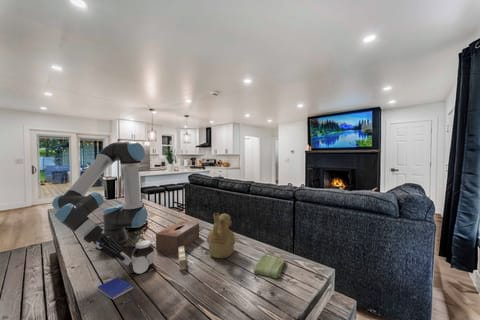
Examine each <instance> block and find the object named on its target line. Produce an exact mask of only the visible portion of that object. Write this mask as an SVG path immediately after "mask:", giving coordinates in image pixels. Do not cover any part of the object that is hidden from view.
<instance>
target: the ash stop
mask: <svg viewBox="0 0 480 320" xmlns="http://www.w3.org/2000/svg"><path fill="white" fill-rule="evenodd" d="M177 254H178V268H179V271H183V270H186V269H187V267H186V266H187V262H186V261H187V258H186V251H185V248H184V246H180V247H178V253H177Z"/></svg>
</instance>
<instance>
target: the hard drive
mask: <svg viewBox="0 0 480 320" xmlns="http://www.w3.org/2000/svg"><path fill="white" fill-rule="evenodd" d="M133 289H134V286H133V285H132V284H130V283H128V282H126V281H125V280H123V279H121V278H119V277H115V278H113V279H111V280H109V281H106V282H105V283H102V284H101V285H98V286H97V290H99V291H100V292H101V293H103V294H104V295H105V296H106V297H109V298H110V299H112V300H115V299H117V298H118V297H120V296H122V295H124V294H126V293H128V292H129V291H131V290H133Z"/></svg>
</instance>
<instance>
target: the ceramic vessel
mask: <svg viewBox="0 0 480 320" xmlns="http://www.w3.org/2000/svg"><path fill="white" fill-rule="evenodd" d="M213 222H214V223H213V227H212V229H211V230H210V231H209V233H208V235H207V237H206V242H207V244H208V252H209V255H210V256H211V257H212V258H215V259H225V258H226V259H227V258H229V257H230V256H231V255H232V254H233V252H234V250H235V249H234V248H235V244H236V238H235V235H234V232H233V231H232V230H231V229H229V228H230V227H231V226H232V220H231V216H230V214H228V213H221V214H220V213H219V212H215V213H213Z"/></svg>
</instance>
